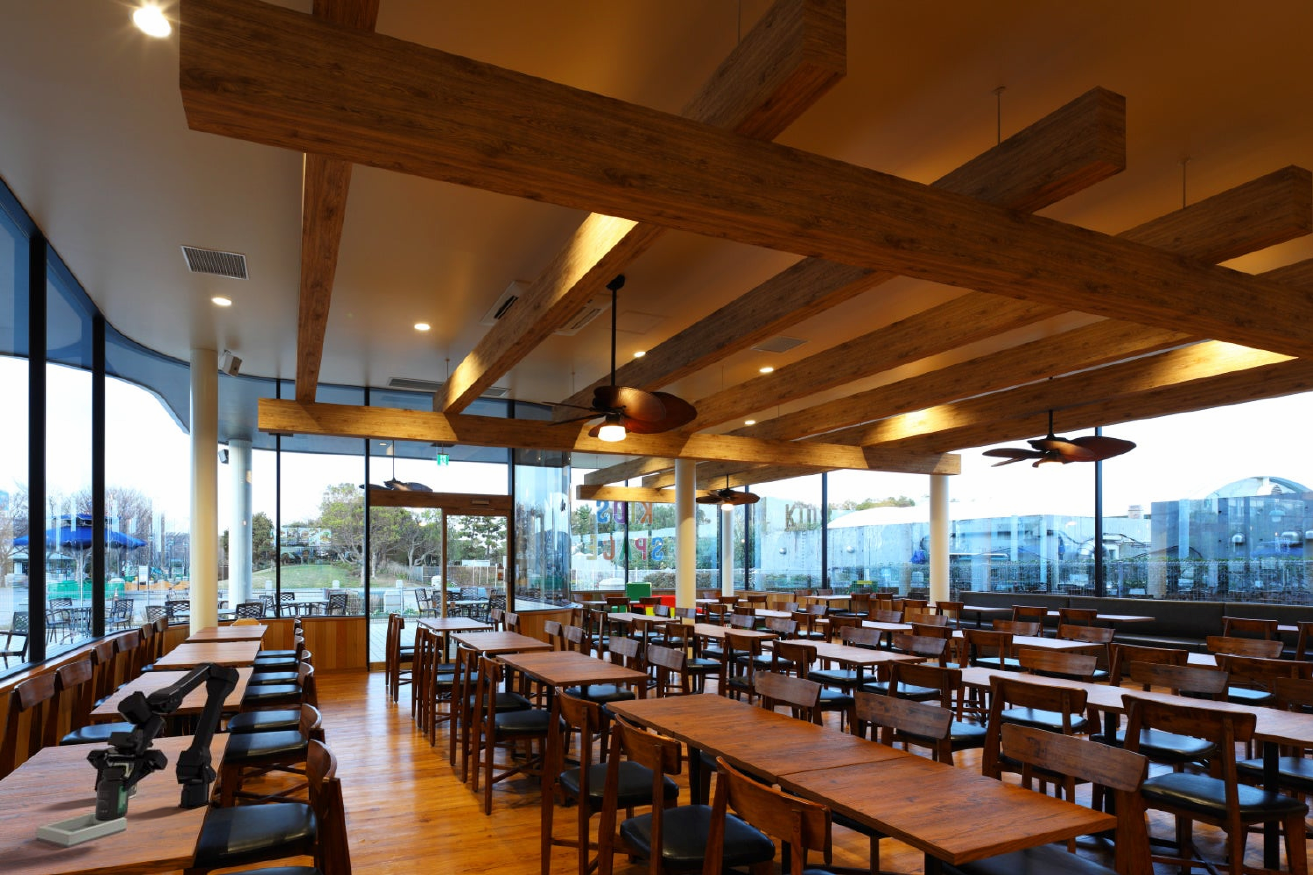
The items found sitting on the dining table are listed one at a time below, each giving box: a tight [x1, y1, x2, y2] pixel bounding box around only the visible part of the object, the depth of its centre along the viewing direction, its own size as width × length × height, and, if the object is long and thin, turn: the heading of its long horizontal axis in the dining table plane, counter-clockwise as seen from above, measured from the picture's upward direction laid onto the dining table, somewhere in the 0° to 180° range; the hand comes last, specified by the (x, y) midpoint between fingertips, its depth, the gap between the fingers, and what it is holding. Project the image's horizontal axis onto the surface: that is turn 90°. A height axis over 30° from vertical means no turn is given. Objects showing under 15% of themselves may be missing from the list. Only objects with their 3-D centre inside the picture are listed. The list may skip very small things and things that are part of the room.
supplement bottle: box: [94, 765, 130, 821], centre depth 204 cm, size 7×7×12 cm
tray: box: [35, 811, 128, 848], centre depth 210 cm, size 14×14×3 cm
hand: (109, 790), depth 203 cm, fingers closed on supplement bottle, 7 cm apart
